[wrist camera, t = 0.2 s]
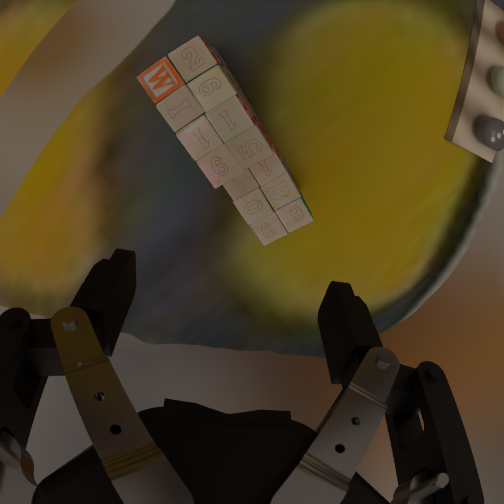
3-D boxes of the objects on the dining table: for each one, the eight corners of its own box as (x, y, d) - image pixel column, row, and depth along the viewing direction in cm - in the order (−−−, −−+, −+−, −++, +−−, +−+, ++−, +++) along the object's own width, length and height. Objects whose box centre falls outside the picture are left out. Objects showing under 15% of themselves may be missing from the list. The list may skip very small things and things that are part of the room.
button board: (477, -3, 23) (485, -4, 22) (516, 28, 25) (524, 29, 23) (444, 138, 36) (451, 142, 34) (484, 158, 37) (491, 163, 35)
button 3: (482, 110, 30) (493, 114, 28) (501, 123, 31) (512, 127, 28) (473, 139, 32) (484, 144, 30) (492, 150, 33) (503, 156, 31)
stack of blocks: (301, 189, 41) (320, 236, 30) (259, 211, 42) (263, 264, 32) (213, 45, 31) (198, 33, 20) (168, 73, 32) (134, 76, 22)
